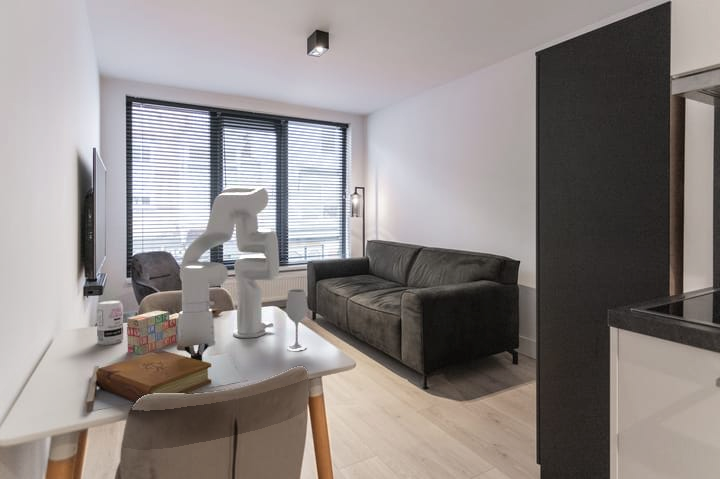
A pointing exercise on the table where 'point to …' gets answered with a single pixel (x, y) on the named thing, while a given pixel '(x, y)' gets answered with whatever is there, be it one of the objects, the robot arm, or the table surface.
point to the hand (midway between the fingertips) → (196, 366)
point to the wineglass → (296, 309)
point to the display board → (219, 373)
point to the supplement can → (109, 322)
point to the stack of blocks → (151, 331)
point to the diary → (153, 375)
